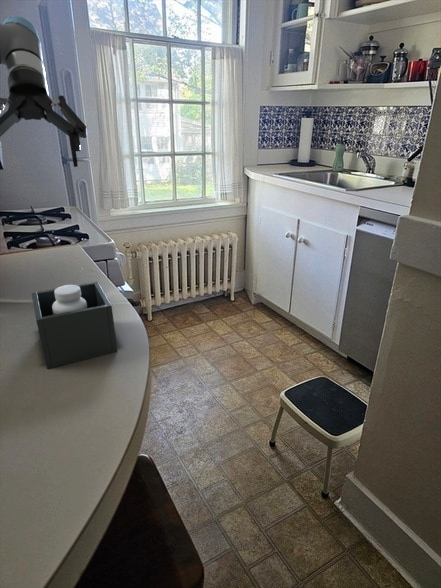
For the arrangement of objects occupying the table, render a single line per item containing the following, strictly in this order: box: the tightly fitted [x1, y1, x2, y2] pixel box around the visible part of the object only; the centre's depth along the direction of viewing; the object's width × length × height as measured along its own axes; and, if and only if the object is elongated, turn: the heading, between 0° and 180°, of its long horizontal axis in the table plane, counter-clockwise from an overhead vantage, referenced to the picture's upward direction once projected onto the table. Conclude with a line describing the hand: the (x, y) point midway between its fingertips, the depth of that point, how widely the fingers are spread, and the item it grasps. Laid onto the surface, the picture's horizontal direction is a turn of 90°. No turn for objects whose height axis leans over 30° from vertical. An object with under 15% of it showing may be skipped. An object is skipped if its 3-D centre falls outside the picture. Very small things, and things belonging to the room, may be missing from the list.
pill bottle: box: [52, 284, 87, 315], centre depth 65 cm, size 5×5×10 cm
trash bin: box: [31, 281, 118, 370], centre depth 66 cm, size 11×11×9 cm
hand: (38, 163), depth 76 cm, fingers open, 13 cm apart
